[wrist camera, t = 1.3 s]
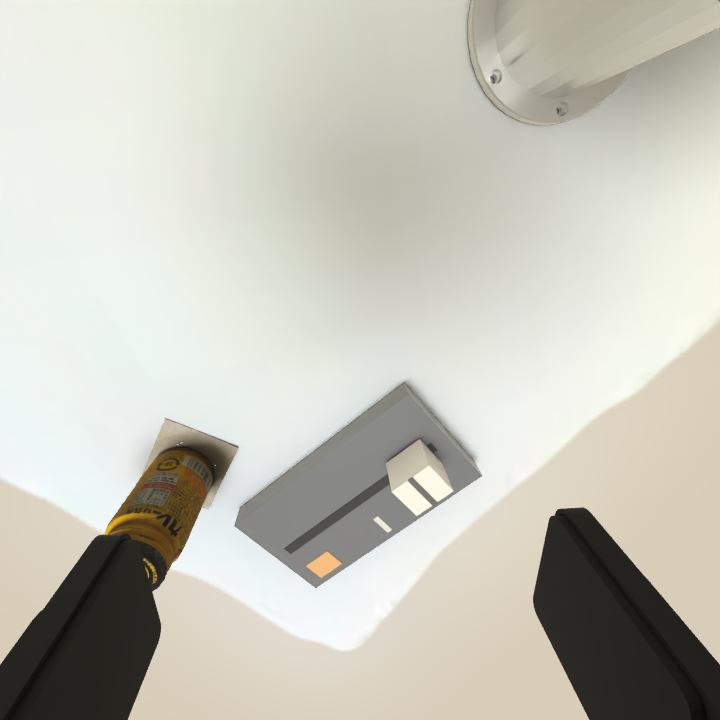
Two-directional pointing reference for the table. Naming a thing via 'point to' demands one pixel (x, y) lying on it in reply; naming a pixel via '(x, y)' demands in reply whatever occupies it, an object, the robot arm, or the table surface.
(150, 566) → the condiment
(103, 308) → the table surface
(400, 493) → the fader knob
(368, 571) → the table surface
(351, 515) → the fader console
